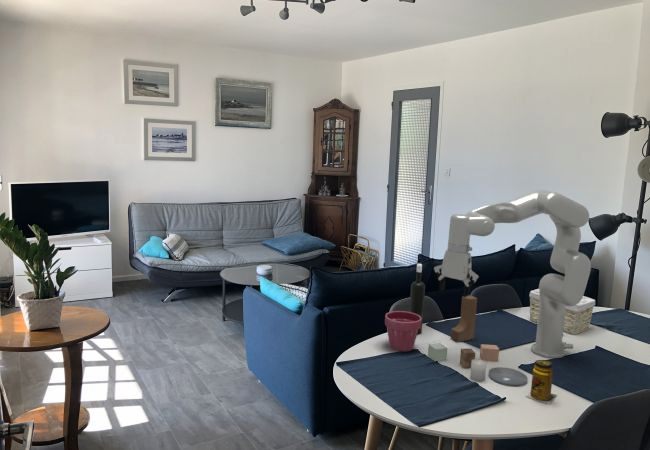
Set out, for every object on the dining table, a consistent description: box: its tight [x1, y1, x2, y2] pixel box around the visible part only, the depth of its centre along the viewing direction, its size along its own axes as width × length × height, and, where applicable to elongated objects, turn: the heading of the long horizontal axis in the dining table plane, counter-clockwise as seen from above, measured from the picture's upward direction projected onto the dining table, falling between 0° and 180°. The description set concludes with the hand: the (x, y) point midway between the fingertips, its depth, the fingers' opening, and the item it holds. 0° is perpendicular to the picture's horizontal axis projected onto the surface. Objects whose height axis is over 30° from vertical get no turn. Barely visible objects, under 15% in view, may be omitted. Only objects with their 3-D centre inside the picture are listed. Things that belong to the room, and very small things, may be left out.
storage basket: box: [529, 288, 596, 336], centre depth 241 cm, size 24×16×15 cm
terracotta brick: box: [479, 343, 500, 363], centre depth 200 cm, size 6×4×5 cm, turn 86°
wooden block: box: [450, 294, 478, 343], centre depth 219 cm, size 9×4×18 cm, turn 118°
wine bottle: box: [408, 263, 426, 336], centre depth 223 cm, size 6×6×30 cm
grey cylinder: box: [469, 358, 487, 383], centre depth 183 cm, size 5×5×6 cm
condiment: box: [525, 359, 557, 405], centre depth 172 cm, size 7×8×12 cm
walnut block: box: [459, 348, 477, 370], centre depth 193 cm, size 4×4×6 cm
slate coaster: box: [487, 366, 528, 387], centre depth 185 cm, size 13×13×1 cm
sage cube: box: [427, 342, 448, 362], centre depth 199 cm, size 5×5×5 cm
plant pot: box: [384, 310, 422, 352], centre depth 208 cm, size 14×14×13 cm
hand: (453, 293), depth 196 cm, fingers open, 9 cm apart
